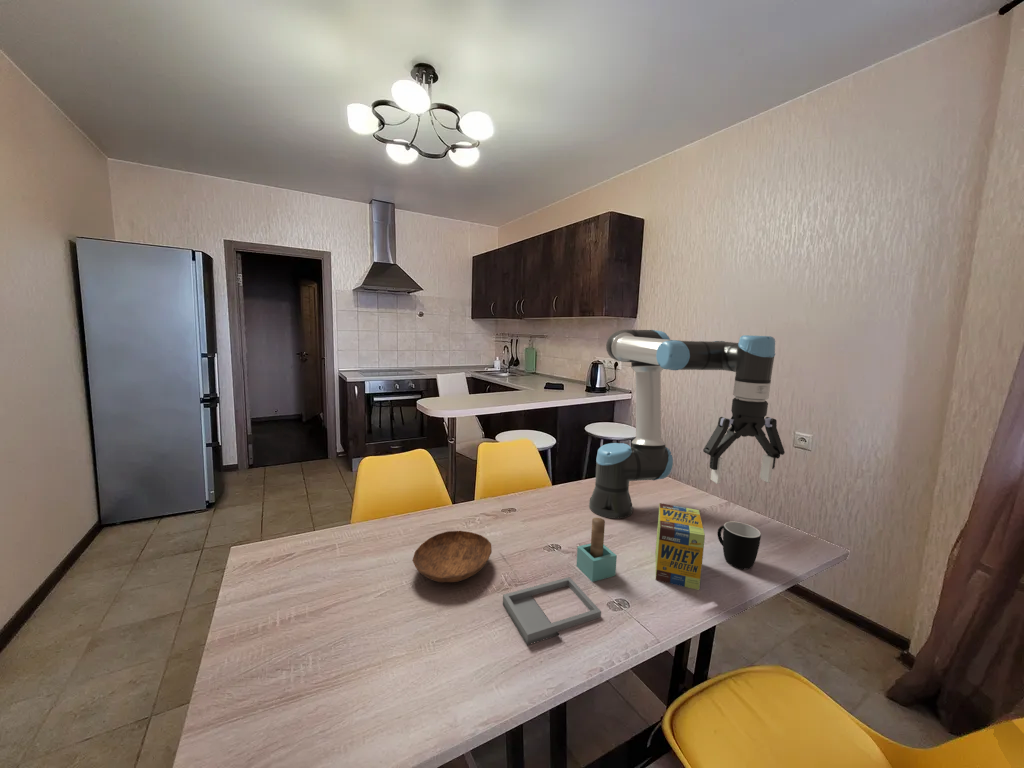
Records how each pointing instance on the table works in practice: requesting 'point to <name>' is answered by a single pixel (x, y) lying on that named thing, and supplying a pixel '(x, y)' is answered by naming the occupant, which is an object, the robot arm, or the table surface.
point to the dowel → (597, 537)
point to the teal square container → (596, 563)
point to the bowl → (452, 556)
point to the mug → (739, 544)
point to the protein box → (679, 546)
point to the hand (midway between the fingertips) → (740, 481)
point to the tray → (534, 619)
